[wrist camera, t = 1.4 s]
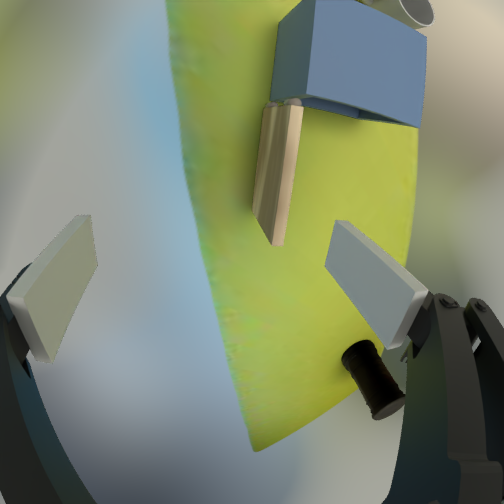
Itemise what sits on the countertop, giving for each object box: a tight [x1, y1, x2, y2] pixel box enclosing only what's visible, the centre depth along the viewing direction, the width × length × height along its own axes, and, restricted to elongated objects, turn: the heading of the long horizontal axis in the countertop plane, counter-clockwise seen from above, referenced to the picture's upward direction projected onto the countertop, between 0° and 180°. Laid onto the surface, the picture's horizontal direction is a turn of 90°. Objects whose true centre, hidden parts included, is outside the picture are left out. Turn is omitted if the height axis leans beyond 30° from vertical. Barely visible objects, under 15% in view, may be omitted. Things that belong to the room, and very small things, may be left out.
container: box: [342, 340, 406, 420], centre depth 52 cm, size 9×9×18 cm
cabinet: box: [270, 0, 427, 128], centre depth 25 cm, size 12×14×13 cm
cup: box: [361, 0, 435, 29], centre depth 22 cm, size 7×10×9 cm
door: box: [252, 98, 304, 246], centre depth 30 cm, size 1×15×11 cm, turn 174°
